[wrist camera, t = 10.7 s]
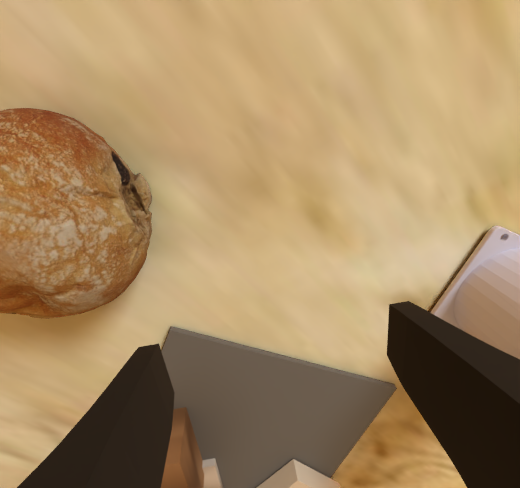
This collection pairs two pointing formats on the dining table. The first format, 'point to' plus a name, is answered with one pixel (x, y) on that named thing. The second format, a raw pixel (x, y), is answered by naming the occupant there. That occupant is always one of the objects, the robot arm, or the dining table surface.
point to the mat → (267, 407)
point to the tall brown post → (187, 458)
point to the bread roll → (66, 216)
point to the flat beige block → (298, 478)
